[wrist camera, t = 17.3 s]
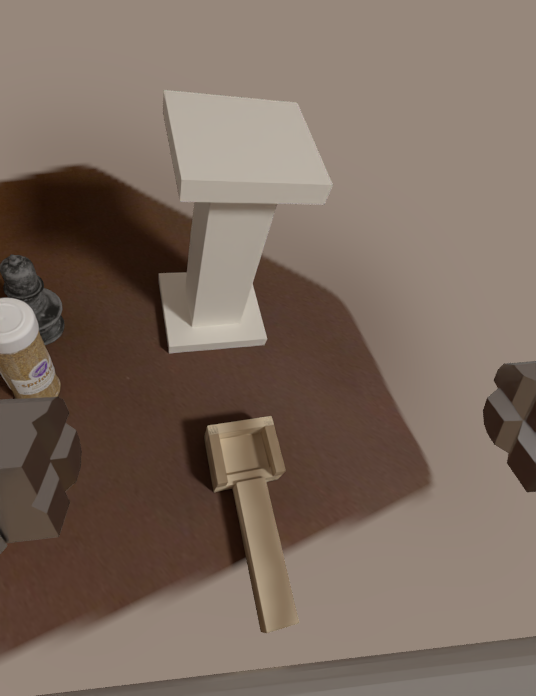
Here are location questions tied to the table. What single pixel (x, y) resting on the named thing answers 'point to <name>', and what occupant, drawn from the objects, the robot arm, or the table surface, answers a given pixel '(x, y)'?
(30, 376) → the sprinkles bottle
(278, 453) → the scoop
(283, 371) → the table surface
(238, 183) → the pedestal shelf
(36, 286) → the dark tall tiered piece
